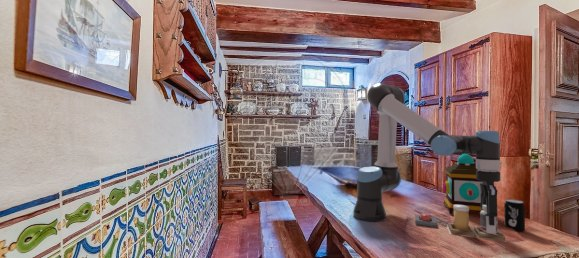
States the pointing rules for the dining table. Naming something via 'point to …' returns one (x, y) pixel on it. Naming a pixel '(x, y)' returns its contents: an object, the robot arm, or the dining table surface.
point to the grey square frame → (425, 222)
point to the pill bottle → (483, 219)
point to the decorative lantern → (462, 185)
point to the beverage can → (514, 214)
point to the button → (425, 217)
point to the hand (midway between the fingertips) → (488, 230)
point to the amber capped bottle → (461, 217)
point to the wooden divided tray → (476, 233)
